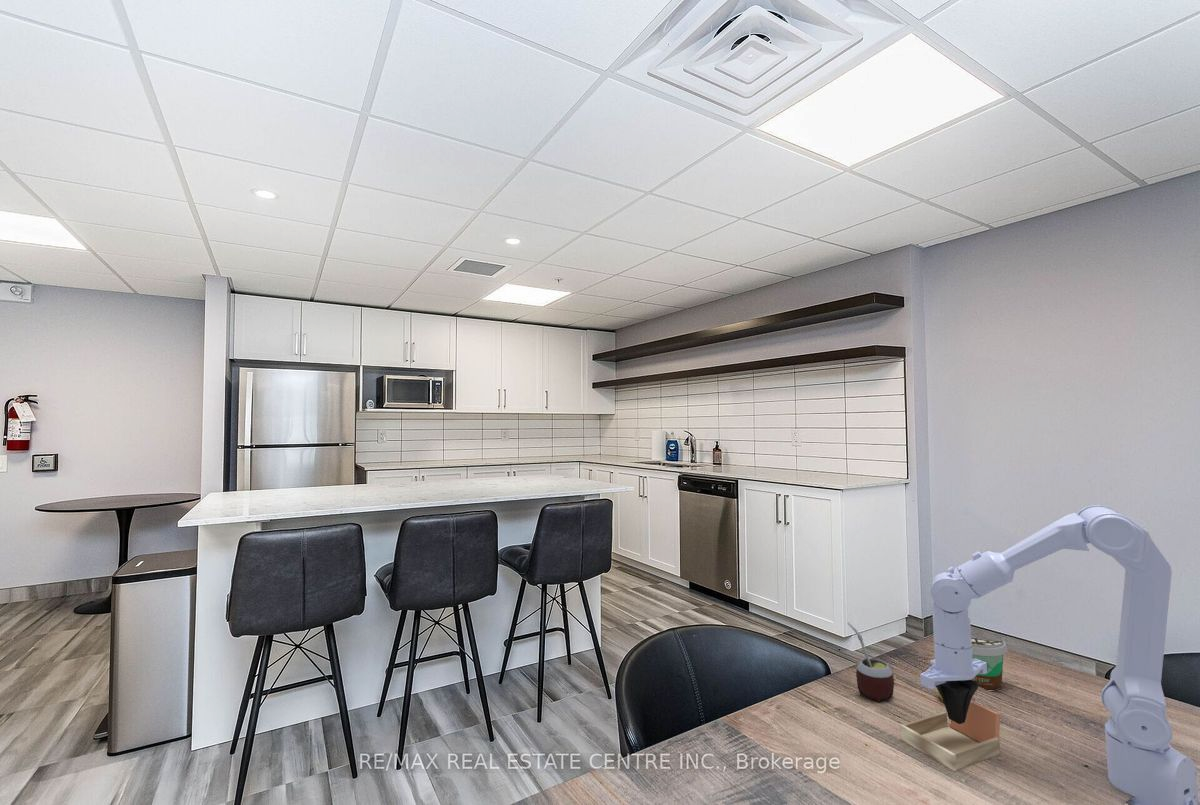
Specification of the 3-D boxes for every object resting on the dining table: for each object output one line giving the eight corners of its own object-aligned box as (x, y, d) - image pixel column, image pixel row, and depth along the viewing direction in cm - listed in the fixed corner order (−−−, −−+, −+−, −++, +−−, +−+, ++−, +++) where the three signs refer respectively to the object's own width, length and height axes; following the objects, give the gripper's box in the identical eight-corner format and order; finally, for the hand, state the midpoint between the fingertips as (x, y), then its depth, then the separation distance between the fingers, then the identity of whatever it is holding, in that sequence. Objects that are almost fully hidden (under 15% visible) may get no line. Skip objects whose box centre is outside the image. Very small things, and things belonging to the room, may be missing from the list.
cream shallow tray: (1000, 762, 94) (999, 738, 94) (954, 780, 90) (953, 755, 90) (944, 732, 103) (943, 711, 103) (900, 747, 99) (899, 725, 99)
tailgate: (995, 750, 95) (996, 714, 95) (950, 727, 102) (951, 693, 103) (998, 749, 95) (1000, 713, 96) (954, 726, 103) (955, 693, 103)
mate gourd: (898, 712, 111) (895, 637, 111) (856, 708, 113) (852, 634, 113) (890, 695, 118) (886, 624, 118) (850, 691, 120) (847, 621, 120)
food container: (953, 690, 119) (950, 643, 119) (944, 677, 125) (941, 633, 125) (1019, 696, 115) (1017, 648, 116) (1007, 683, 121) (1004, 637, 122)
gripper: (958, 628, 104) (962, 701, 104) (903, 641, 99) (907, 718, 98) (997, 642, 98) (1001, 719, 97) (940, 656, 92) (944, 739, 92)
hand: (956, 720), depth 97 cm, fingers closed
